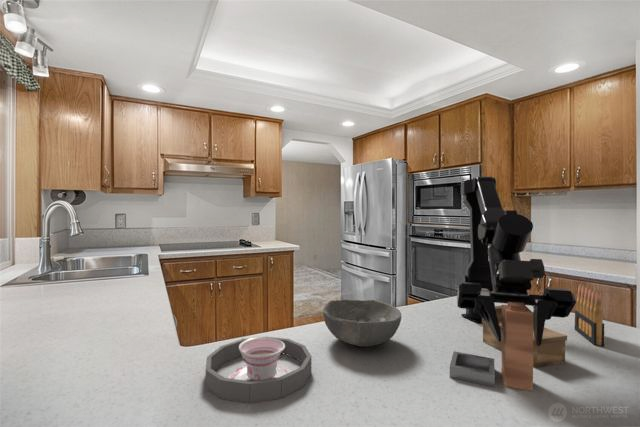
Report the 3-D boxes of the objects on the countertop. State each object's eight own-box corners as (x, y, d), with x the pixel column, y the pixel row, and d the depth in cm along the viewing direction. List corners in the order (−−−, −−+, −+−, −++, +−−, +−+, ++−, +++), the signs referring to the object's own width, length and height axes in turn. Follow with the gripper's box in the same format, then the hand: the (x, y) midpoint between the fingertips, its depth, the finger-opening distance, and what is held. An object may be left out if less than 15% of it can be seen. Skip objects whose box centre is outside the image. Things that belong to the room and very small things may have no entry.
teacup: (307, 374, 61) (307, 341, 61) (265, 408, 51) (265, 368, 50) (257, 359, 67) (257, 329, 67) (210, 386, 57) (210, 350, 57)
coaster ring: (208, 357, 67) (208, 342, 67) (297, 346, 73) (297, 333, 73) (203, 410, 50) (203, 390, 50) (322, 391, 55) (322, 373, 55)
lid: (481, 322, 76) (481, 305, 76) (510, 319, 79) (510, 302, 79) (534, 345, 63) (534, 324, 63) (566, 340, 66) (567, 320, 66)
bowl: (403, 363, 65) (403, 323, 65) (315, 355, 69) (315, 317, 69) (399, 331, 83) (399, 299, 83) (330, 325, 86) (330, 295, 86)
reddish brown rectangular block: (501, 375, 61) (501, 300, 61) (526, 379, 59) (526, 302, 59) (506, 386, 57) (506, 306, 57) (532, 390, 56) (533, 308, 56)
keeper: (453, 361, 66) (453, 351, 66) (494, 369, 63) (494, 358, 63) (449, 377, 60) (449, 366, 60) (494, 387, 57) (494, 375, 57)
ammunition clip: (604, 346, 74) (605, 293, 74) (594, 345, 74) (595, 292, 74) (583, 330, 84) (583, 283, 84) (574, 329, 84) (574, 282, 84)
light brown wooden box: (482, 341, 76) (483, 323, 76) (510, 338, 78) (510, 320, 78) (533, 367, 64) (534, 345, 64) (564, 362, 66) (565, 340, 66)
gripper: (458, 240, 64) (463, 314, 54) (572, 244, 59) (602, 327, 48) (455, 273, 72) (459, 343, 62) (556, 279, 66) (578, 358, 56)
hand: (519, 343), depth 57 cm, fingers open, 6 cm apart
